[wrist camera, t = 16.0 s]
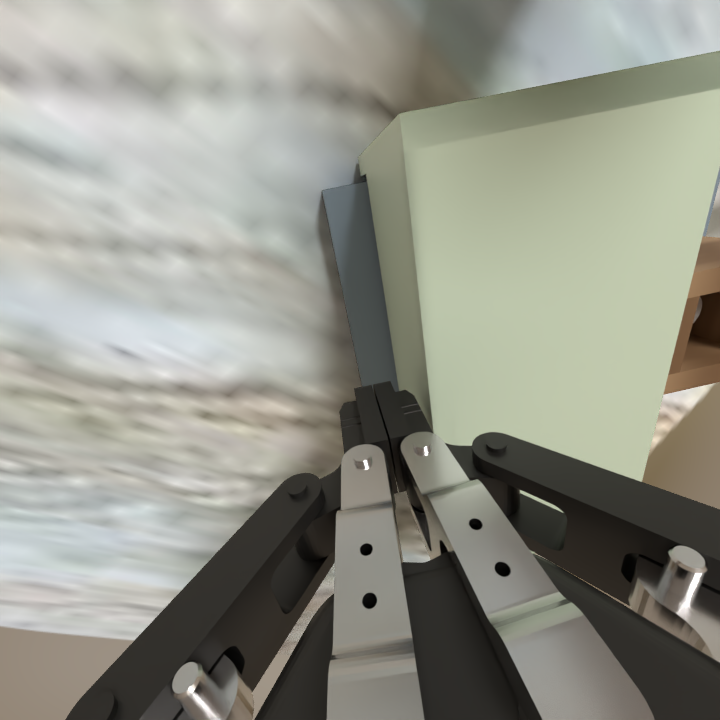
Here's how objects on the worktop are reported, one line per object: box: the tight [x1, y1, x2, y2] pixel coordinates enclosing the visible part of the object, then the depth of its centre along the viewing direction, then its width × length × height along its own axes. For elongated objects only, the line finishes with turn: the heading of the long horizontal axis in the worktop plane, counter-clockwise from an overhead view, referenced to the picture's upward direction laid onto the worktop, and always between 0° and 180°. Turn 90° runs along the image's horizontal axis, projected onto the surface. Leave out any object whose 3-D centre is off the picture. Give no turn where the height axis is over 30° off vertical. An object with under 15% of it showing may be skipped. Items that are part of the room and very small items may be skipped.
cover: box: [358, 51, 720, 554], centre depth 16 cm, size 9×18×9 cm, turn 10°
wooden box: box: [663, 236, 720, 395], centre depth 17 cm, size 5×5×6 cm
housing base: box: [322, 168, 720, 392], centre depth 18 cm, size 20×16×6 cm
